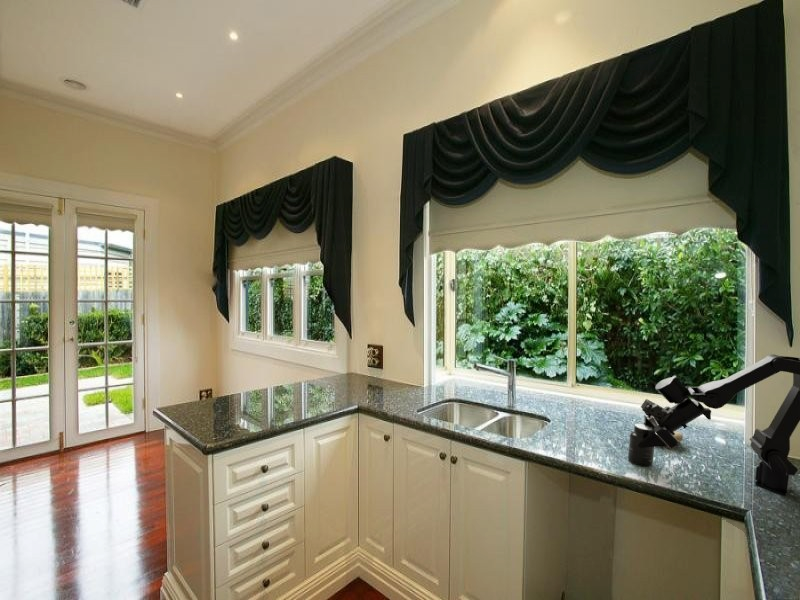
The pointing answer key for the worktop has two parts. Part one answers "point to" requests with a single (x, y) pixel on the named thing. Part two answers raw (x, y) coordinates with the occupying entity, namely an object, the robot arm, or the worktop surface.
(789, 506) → the worktop surface
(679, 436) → the stool
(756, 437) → the robot arm
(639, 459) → the supplement bottle
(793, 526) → the worktop surface
